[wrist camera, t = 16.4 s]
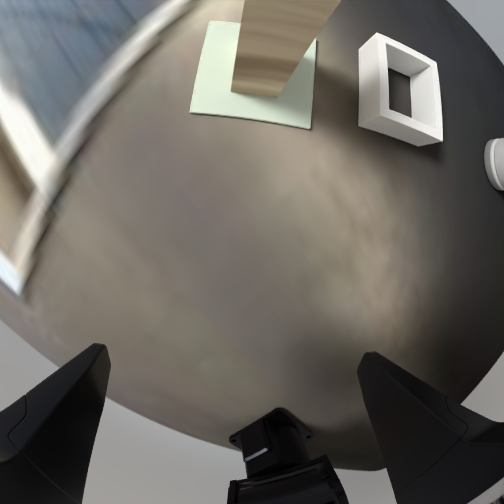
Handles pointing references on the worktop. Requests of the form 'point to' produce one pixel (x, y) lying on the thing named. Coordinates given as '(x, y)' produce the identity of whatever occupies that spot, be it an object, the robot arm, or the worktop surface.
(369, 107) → the holder box
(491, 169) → the travel mug
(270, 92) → the tall tan tower
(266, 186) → the worktop surface
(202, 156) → the worktop surface
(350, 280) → the worktop surface
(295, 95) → the mat
